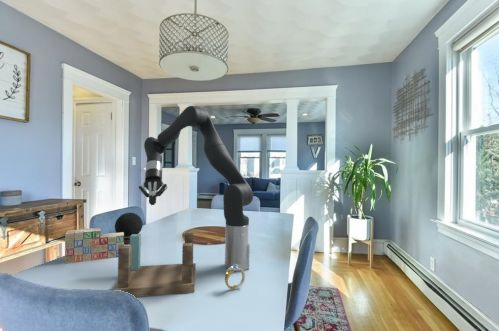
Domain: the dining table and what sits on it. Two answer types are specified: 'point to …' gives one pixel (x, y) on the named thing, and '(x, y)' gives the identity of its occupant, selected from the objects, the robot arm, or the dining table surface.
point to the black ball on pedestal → (128, 225)
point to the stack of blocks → (91, 245)
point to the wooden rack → (157, 274)
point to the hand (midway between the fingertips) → (152, 204)
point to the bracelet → (228, 273)
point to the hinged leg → (135, 251)
